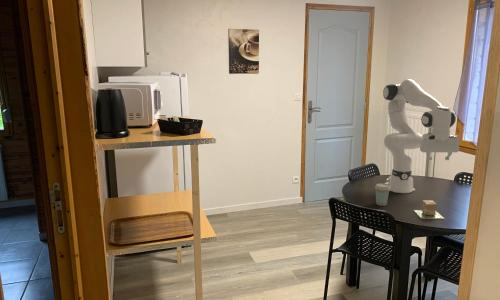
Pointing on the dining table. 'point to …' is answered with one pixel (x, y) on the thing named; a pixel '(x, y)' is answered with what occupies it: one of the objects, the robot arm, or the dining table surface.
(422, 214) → the post
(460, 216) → the dining table surface
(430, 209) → the wood grain block
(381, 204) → the coffee cup
